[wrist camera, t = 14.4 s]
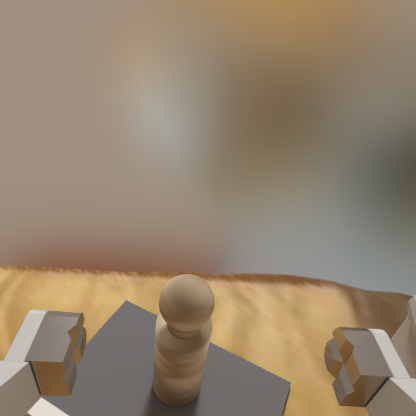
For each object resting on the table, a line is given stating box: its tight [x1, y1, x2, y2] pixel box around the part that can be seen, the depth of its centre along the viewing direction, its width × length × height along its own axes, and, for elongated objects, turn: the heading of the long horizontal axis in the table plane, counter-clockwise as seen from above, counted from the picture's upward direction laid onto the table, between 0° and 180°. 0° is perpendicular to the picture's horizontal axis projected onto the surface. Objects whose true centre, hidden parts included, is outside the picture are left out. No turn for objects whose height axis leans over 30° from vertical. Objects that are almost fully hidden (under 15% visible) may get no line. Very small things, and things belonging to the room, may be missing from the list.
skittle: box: [153, 274, 214, 408], centre depth 31 cm, size 5×5×15 cm
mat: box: [24, 300, 291, 416], centre depth 34 cm, size 22×16×1 cm
